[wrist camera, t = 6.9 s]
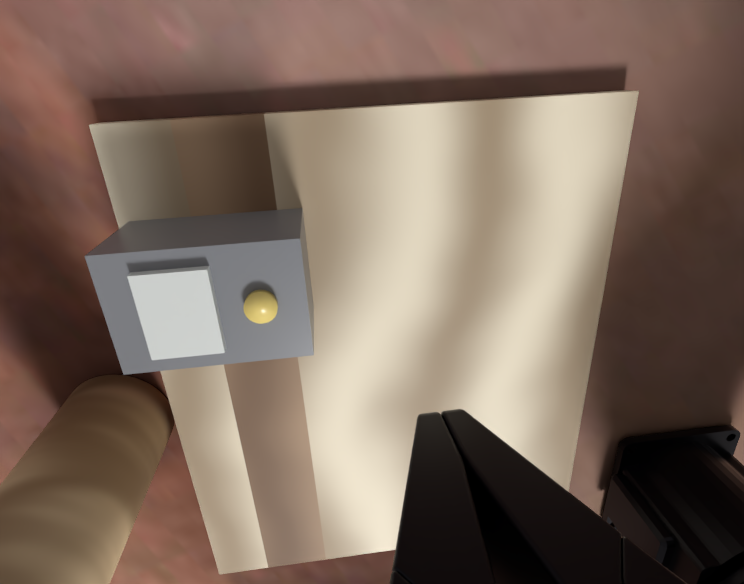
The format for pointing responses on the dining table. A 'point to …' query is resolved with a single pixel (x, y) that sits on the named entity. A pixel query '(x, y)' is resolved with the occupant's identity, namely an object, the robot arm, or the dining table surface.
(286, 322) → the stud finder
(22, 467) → the marker peg
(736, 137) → the dining table surface
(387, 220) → the plywood panel
